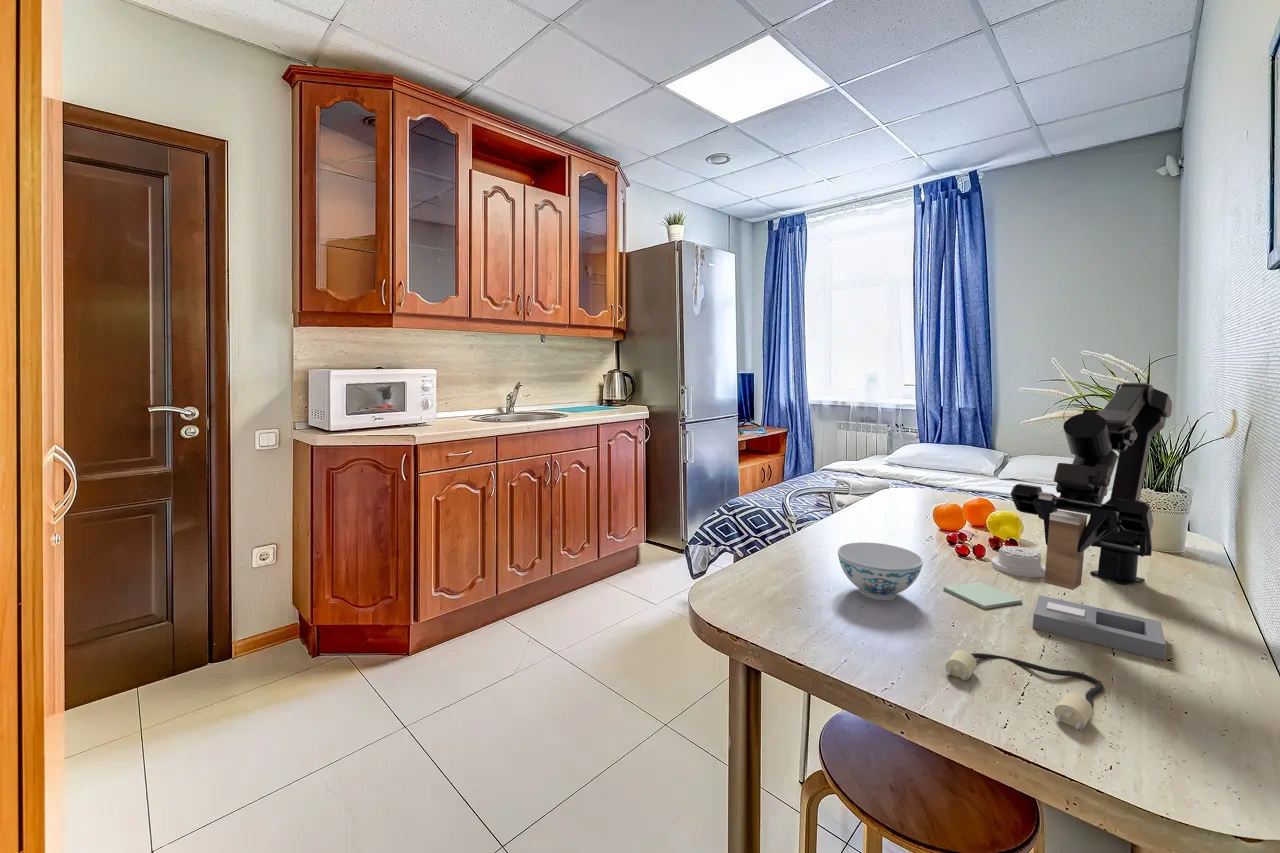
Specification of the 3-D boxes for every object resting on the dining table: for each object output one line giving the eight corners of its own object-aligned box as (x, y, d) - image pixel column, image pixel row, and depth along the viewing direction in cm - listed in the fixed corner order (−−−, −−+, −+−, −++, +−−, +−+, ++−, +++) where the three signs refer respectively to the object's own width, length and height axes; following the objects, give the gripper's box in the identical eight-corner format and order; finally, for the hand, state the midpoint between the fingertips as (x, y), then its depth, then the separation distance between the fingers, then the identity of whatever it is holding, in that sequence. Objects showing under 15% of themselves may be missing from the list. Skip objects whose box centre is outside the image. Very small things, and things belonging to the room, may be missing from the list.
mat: (979, 584, 110) (979, 581, 110) (1021, 603, 101) (1021, 599, 101) (943, 589, 107) (943, 587, 107) (984, 609, 99) (984, 605, 99)
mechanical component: (1003, 577, 115) (1056, 580, 113) (1004, 556, 114) (1058, 560, 112) (983, 560, 125) (1032, 563, 123) (984, 542, 124) (1034, 544, 122)
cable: (983, 644, 87) (985, 623, 87) (1116, 692, 74) (1118, 668, 74) (938, 677, 78) (940, 654, 77) (1081, 739, 65) (1084, 712, 64)
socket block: (1038, 608, 99) (1039, 593, 99) (1159, 636, 89) (1160, 619, 89) (1032, 628, 92) (1033, 611, 91) (1164, 660, 81) (1166, 642, 81)
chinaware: (931, 592, 106) (933, 554, 105) (905, 617, 95) (907, 575, 95) (854, 572, 116) (855, 537, 116) (823, 593, 106) (824, 554, 105)
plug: (1052, 577, 96) (1058, 510, 94) (1081, 584, 92) (1087, 515, 91) (1044, 582, 93) (1049, 513, 92) (1073, 590, 90) (1079, 519, 89)
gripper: (1018, 439, 100) (988, 508, 95) (1155, 452, 85) (1129, 534, 80) (1031, 477, 106) (1004, 543, 100) (1162, 495, 91) (1138, 574, 85)
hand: (1062, 547), depth 91 cm, fingers closed on plug, 4 cm apart
